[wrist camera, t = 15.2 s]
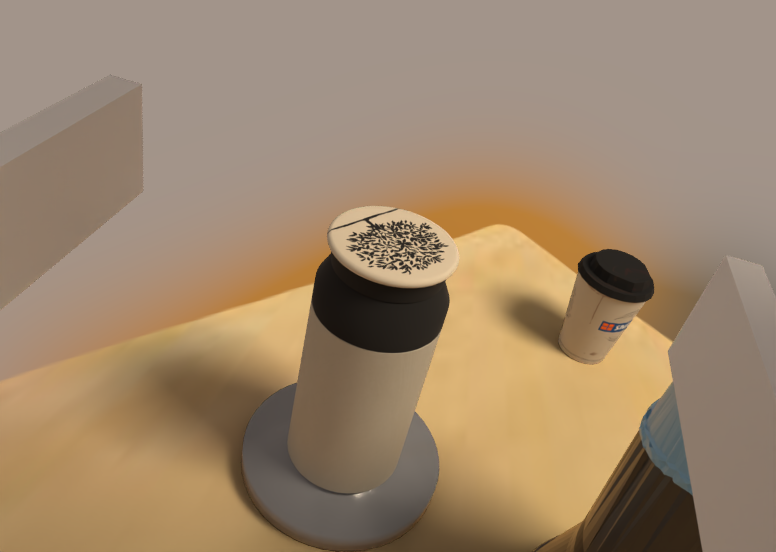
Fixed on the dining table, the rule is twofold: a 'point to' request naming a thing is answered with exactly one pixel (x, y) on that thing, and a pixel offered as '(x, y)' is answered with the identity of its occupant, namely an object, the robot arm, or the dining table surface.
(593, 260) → the coffee cup
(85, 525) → the dining table surface
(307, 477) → the travel mug
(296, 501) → the charcoal plate
